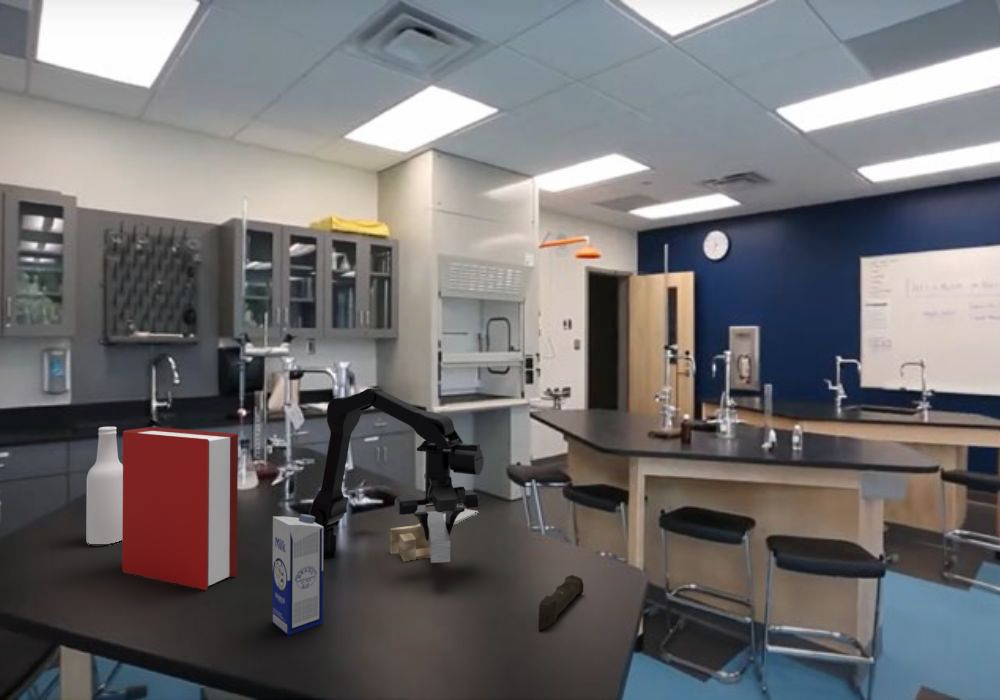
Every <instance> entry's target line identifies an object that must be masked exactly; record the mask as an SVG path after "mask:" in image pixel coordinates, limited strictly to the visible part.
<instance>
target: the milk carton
mask: <svg viewBox="0 0 1000 700" xmlns="http://www.w3.org/2000/svg"><path fill="white" fill-rule="evenodd" d="M314 520H315V517H314V516H311V515H309V514H303V513H300V514H299V517H293V516H284V515H283V516H272V582H271V583H272V593H271V594H272V603H271V605H272V607H271V609H272V613H271V617H272V619H271V620H272V623H273V624H274V625H275V626H276V627H277V628H278V629H280V630H281V631H282V632H283V633H285V634H286V635H287V636H292V635H294V634H296V633H299V632H300V633H301V632H302V631H306V630H308V629H310V628H313V627H316V626H318V625H322V624H324V558H323V526H321V525H319V524H317V523H315V522H314Z"/></svg>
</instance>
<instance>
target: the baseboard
mask: <svg viewBox="0 0 1000 700" xmlns="http://www.w3.org/2000/svg"><path fill="white" fill-rule="evenodd" d="M464 507H466V506H465V505H464ZM464 509H465V511H464V512H461V513H460V514H459V515H458V516H457V518H456V520H455V522H454V524H455V525H457V524H460V523H462V522H464V521H466V520H465V519H467V518H469V517H471V516H474V517H476V516H478V515H477V513H479V514H480V511H479V509H480V508H479V507H475V509H477V510H474V509H473V510H472V509H469V508H467V507H466V508H464ZM478 511H479V512H478ZM475 512H476V513H475ZM475 515H476V516H475ZM443 516H444V520H445V517H446V512H445V513H443ZM471 518H472V517H471ZM469 519H470V518H469ZM463 520H464V521H463ZM467 520H468V519H467ZM461 521H462V522H461ZM459 522H460V523H459ZM454 524H453V526H455V525H454ZM416 525H420V523H418V524H416Z"/></svg>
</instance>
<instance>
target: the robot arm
mask: <svg viewBox="0 0 1000 700" xmlns="http://www.w3.org/2000/svg"><path fill="white" fill-rule="evenodd" d="M370 408H375V409H377V410H378V411H381V412H383V413H384V414H386V415H388V416H391V417H392V418H394V419H396V420H398V421H400V422H402V423H404V424H406V425H407V426H409V427H410V428H412V429H413V430H414V432H415V434H416V435H418V436H419V437H420V438H422V439H423V441H422V443H421V444H420V445H419V446H418V447H416V451H417V452H423V453H425V454H424V455H425V456H424V457H425V462H424V463H425V466H424V467H425V468H424V470H425V471H424V472H425V473H424V475H423V477H424V491H423V496H424V498H415V496H414V495H413V494H411V495H409V494H408V495H398V496H397V497H396V498H395V499H394V510H396V513H397V512H398V514H399V515H400V516H401V515H413V516H414V517H416V518H417V520H418V521H419V524H420V525H421V528H422V531H423V534H424V536H425V539H426V541H428V538H429V532H428V513H427V512H428V511H427V510H426V509H427V508H428V507H429V508H430V507H434V511H437V512H442V513H443V512H445V513H446V517H445V523H446V527H447V530H448V534H449V535H450V536H451V532H452V529H453V527H454V525H453V524H454V522H455V520H456V518H457V516H458V515H459V514H460V513H461V512H464V511H465V509H471V508H472V509H474V508H479V507H480V497H479V495H478V494H477V493H476V492H474V491H473V490H472V489H465V487H464V486H456V487H455V486H453V483H452V481H453V480H452V477H451V471H453V473H455V474H463V475H464V474H465V475H473V476H474V475H475V476H478V475H481V473H482V471H483V469H484V461H485V460H484V459H485V457H484V455H483V452H482V449H481V444H480V443H464V442H463V440H462V438H461V437H460V435H459V434H458V432H457V431H456V429H455V427H454V426H455V425H454V422H453V420H452V418H450V417H449V416H447V415H444V414H440V413H437V412H431V411H427V410H422V409H420V408H418V407H416V406H415V405H412V404H410V403H408V402H406V401H405V400H403V399H400V398H398V397H396V396H395V395H392V394H390V393H388V392H386V391H384V390H383V389H381V388H380V387H371V388H366V389H364V390H363V391H360V392H358V393H356V394H352V395H349V396H341V397H335V398H333V399H332V400H330V401H329V402H328V404H327V408H326V423H327V426H328V428H329V431H330V434H329V439H328V445H327V451H326V458H325V464H324V470H323V474H322V481H321V487H320V489H319V491H318V492H317V494H316V496H315V498H314V499H313V501H312V503H311V507H310V509H309V514H308V515H311V516H314V517H315V520H314V522H315V523H317V524H319V525H321V526H323V559H326V558H334V557H336V554H335V553H336V552H337V534H336V532H335V530H334V528H335V527H337V526H339V523H340V522H341V521H340V520H341V519H342V518H344V515H345V514H347V513H348V508H347V506H348V503H349V501H350V500H349V497H348V496H345V495H344V494H343V493H344V492H343V491H342V488H343V481H344V477H345V469H346V465H347V459H348V452H349V447H350V442H351V438H352V437H351V436H352V433H353V432H354V430H355V428H356V426H357V425H358V424H359V422H360V418H361V416H362V412H363V411H366V410H368V409H370ZM465 506H466V508H464V507H465Z"/></svg>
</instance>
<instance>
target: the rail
mask: <svg viewBox="0 0 1000 700" xmlns="http://www.w3.org/2000/svg"><path fill="white" fill-rule="evenodd" d="M426 512H427V513H428V532H429V538H428V547H429V553H430V558H429V559H430V563H431V564H434V563H435V564H437V563H450V562H451V538H450V537H449V534H448V530H447V527H446V523H445V520H444V516H443V514H444V513H443V512H437V511H435V510H434V511H432V510H431V511H426Z"/></svg>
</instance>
